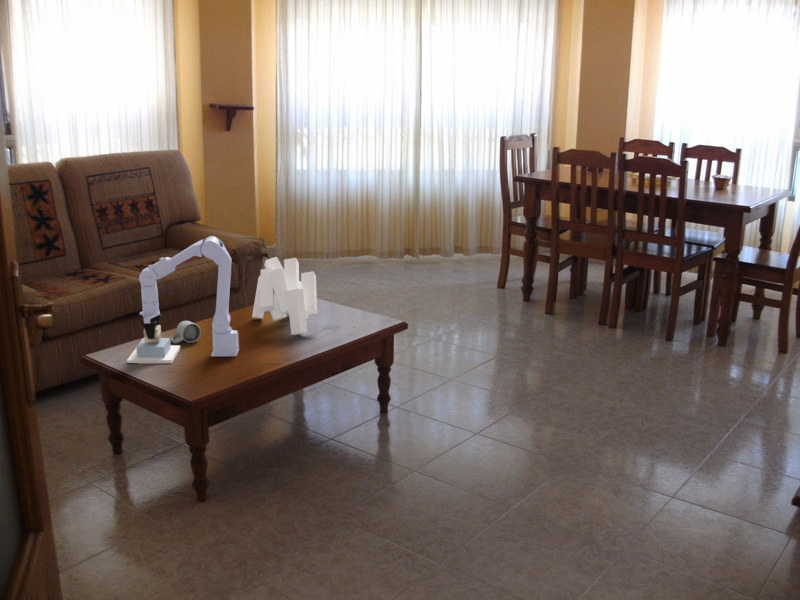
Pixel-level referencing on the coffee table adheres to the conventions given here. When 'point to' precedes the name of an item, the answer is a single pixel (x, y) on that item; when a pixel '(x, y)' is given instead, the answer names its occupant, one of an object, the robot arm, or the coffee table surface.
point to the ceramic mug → (187, 332)
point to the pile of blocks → (286, 293)
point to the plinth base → (155, 360)
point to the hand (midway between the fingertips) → (152, 336)
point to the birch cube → (157, 335)
